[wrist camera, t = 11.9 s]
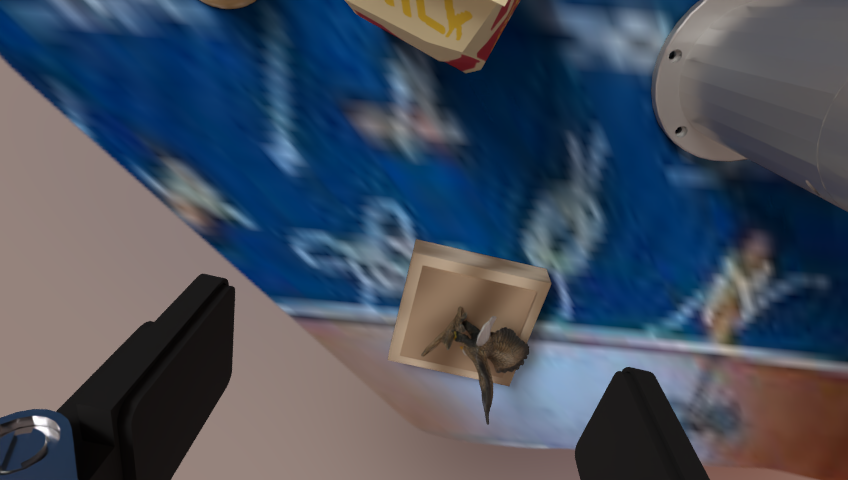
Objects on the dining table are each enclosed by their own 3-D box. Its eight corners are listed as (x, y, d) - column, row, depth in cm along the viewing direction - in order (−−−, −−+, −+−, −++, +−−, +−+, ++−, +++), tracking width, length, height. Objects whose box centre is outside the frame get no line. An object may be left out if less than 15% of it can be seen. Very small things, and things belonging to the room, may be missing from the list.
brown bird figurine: (409, 346, 42) (473, 416, 43) (429, 362, 35) (505, 445, 36) (468, 287, 44) (529, 357, 45) (498, 291, 37) (569, 373, 38)
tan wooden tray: (546, 268, 42) (551, 285, 40) (506, 368, 47) (509, 387, 45) (415, 239, 42) (413, 253, 39) (390, 343, 47) (387, 361, 45)
